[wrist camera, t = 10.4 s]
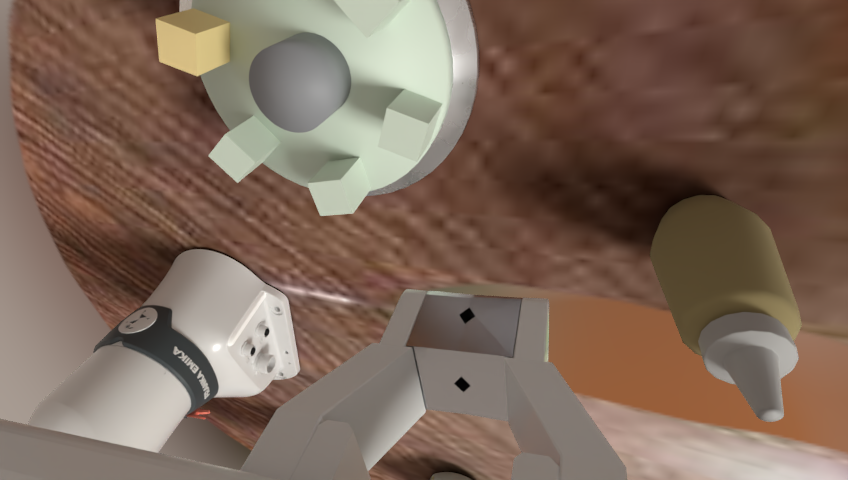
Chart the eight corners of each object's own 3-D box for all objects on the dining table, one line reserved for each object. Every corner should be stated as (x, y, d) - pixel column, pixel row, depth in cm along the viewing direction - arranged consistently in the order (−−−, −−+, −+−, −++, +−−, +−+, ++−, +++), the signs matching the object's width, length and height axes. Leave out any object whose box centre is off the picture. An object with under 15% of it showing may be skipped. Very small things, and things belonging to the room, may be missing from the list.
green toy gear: (494, -32, 30) (477, -19, 25) (414, 214, 43) (393, 253, 38) (205, -138, 31) (135, -145, 26) (211, 134, 44) (165, 162, 39)
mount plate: (488, 191, 41) (484, 207, 39) (258, 190, 48) (243, 203, 46) (464, -160, 28) (454, -165, 26) (152, -91, 35) (123, -91, 33)
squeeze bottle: (755, 260, 38) (857, 466, 24) (647, 267, 41) (682, 455, 27) (761, 172, 34) (887, 359, 20) (641, 188, 37) (678, 360, 23)
